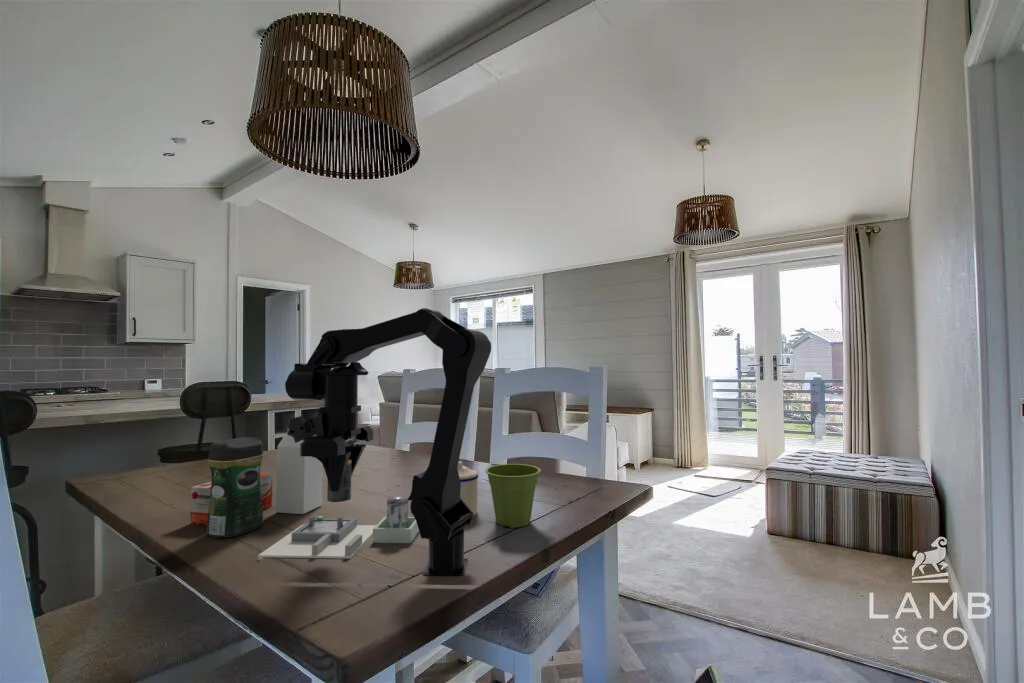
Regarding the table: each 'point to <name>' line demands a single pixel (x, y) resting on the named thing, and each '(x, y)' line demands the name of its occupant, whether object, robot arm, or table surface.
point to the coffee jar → (235, 487)
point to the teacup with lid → (468, 486)
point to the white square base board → (321, 542)
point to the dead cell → (397, 512)
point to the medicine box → (202, 499)
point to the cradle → (325, 525)
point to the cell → (342, 487)
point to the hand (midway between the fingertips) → (339, 488)
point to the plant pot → (513, 492)
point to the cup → (395, 532)
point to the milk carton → (297, 479)
